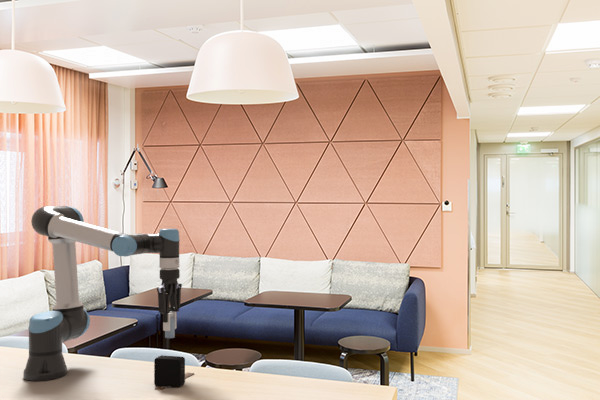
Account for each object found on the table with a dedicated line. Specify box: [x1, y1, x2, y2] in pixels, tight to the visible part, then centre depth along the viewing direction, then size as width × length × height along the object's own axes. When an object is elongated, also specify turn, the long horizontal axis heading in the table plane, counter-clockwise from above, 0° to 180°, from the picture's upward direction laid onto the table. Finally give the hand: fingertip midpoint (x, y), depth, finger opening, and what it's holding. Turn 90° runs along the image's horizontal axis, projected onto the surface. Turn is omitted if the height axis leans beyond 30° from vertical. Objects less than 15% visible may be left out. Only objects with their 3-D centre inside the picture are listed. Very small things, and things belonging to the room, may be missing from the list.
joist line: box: [154, 372, 195, 391], centre depth 205 cm, size 3×20×1 cm, turn 158°
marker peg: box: [164, 313, 176, 339], centre depth 214 cm, size 4×4×9 cm
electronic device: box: [153, 355, 186, 389], centre depth 200 cm, size 4×10×10 cm, turn 77°
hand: (169, 329), depth 214 cm, fingers closed on marker peg, 3 cm apart
